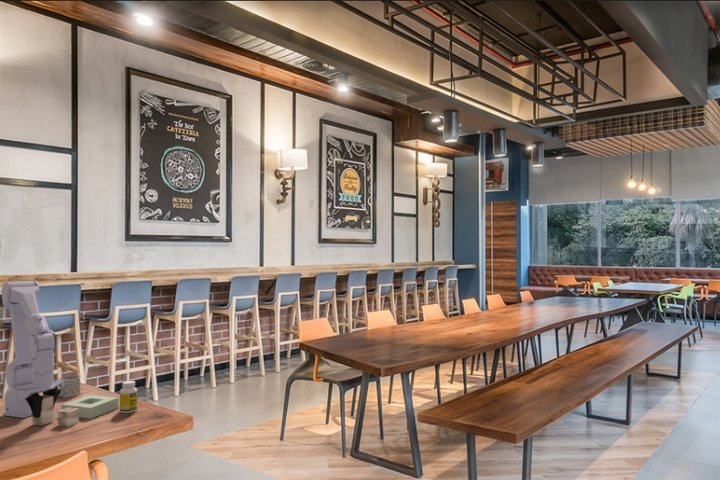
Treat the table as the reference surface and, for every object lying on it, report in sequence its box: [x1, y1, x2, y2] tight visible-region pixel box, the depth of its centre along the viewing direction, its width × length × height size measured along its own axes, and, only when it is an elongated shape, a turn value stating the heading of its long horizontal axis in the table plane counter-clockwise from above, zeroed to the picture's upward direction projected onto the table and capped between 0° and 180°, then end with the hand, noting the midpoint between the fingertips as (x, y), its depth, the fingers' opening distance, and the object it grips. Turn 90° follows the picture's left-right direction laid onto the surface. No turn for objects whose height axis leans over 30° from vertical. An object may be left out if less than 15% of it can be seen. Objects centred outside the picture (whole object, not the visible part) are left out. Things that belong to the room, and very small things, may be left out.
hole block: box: [61, 394, 119, 420], centre depth 179 cm, size 12×12×4 cm
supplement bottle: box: [119, 380, 138, 414], centre depth 179 cm, size 5×5×10 cm
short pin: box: [57, 407, 80, 428], centre depth 167 cm, size 4×4×4 cm
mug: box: [58, 374, 81, 399], centre depth 197 cm, size 10×7×7 cm
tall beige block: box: [31, 394, 54, 426], centre depth 167 cm, size 4×4×8 cm
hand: (42, 415), depth 167 cm, fingers closed on tall beige block, 4 cm apart
